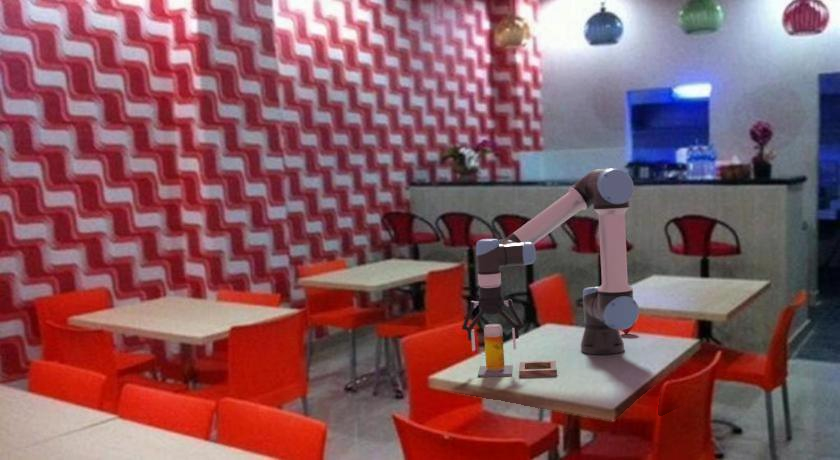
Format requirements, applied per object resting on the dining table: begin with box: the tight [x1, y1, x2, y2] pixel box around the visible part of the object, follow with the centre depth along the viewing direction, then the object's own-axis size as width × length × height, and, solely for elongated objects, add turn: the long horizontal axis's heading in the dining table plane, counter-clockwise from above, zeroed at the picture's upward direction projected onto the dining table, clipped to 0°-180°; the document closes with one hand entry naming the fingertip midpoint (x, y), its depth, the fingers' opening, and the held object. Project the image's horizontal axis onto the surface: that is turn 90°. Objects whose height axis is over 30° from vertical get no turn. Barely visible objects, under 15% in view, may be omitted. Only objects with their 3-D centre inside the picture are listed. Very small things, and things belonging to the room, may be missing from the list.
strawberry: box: [621, 322, 636, 335], centre depth 301 cm, size 6×8×10 cm
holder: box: [518, 360, 558, 378], centre depth 254 cm, size 12×12×2 cm
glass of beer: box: [483, 323, 505, 372], centre depth 257 cm, size 6×6×15 cm
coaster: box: [477, 364, 513, 378], centre depth 257 cm, size 11×11×1 cm
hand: (494, 349), depth 257 cm, fingers open, 13 cm apart
